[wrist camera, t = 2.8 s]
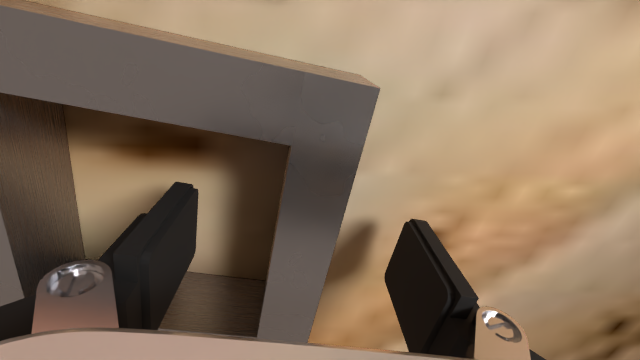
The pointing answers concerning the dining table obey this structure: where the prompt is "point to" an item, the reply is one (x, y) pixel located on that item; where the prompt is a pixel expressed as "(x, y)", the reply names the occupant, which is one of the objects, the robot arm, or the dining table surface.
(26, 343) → the robot arm
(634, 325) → the dining table surface
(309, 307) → the grey square frame
